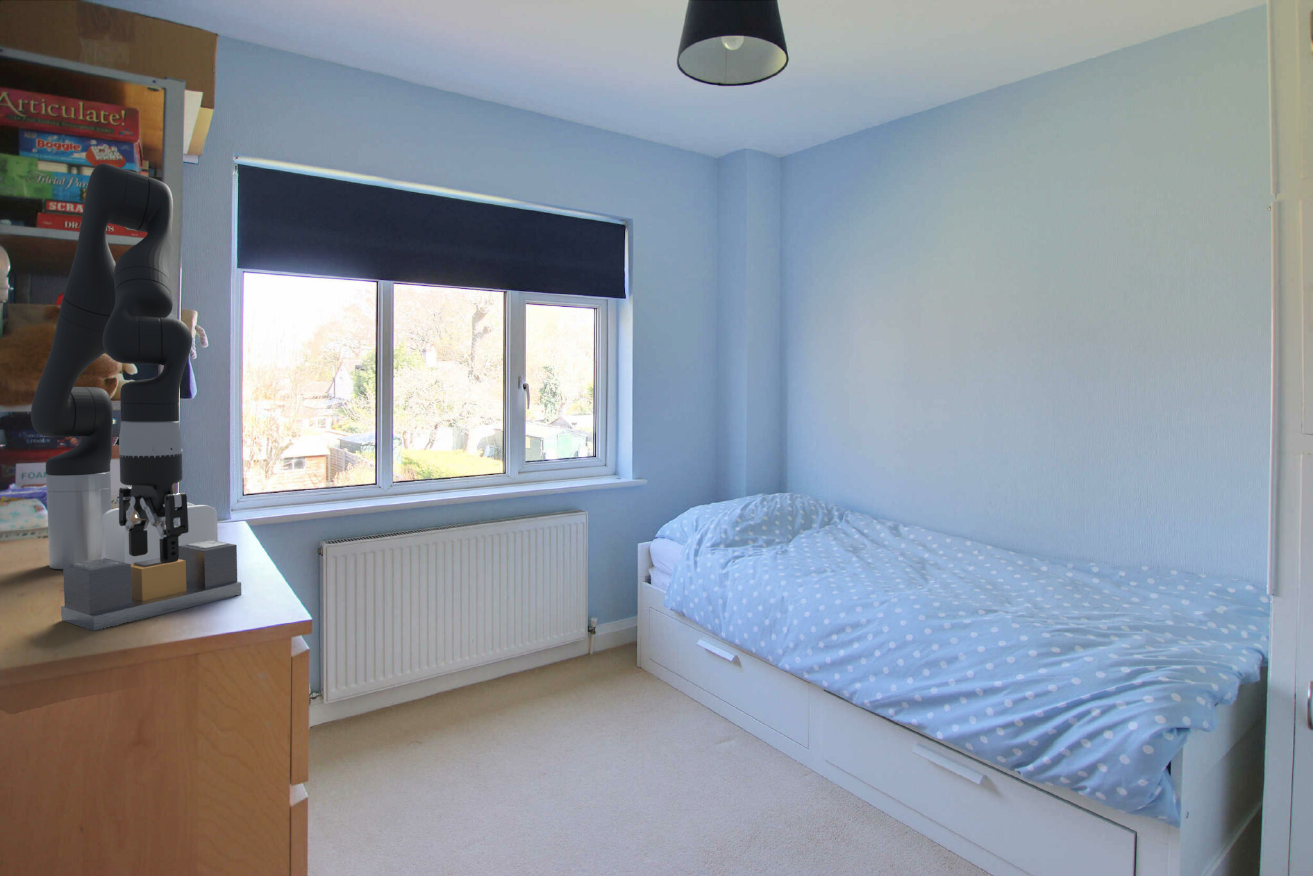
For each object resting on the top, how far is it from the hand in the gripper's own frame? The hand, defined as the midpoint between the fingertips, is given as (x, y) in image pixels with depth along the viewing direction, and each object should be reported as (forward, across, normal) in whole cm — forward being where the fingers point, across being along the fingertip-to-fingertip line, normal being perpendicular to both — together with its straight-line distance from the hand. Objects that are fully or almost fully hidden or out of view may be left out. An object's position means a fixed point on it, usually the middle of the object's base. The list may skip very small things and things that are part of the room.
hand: (153, 558), depth 103 cm
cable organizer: (+8, +24, -13) cm, 29 cm away
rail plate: (+7, 0, 0) cm, 7 cm away
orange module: (+5, 0, 0) cm, 5 cm away
